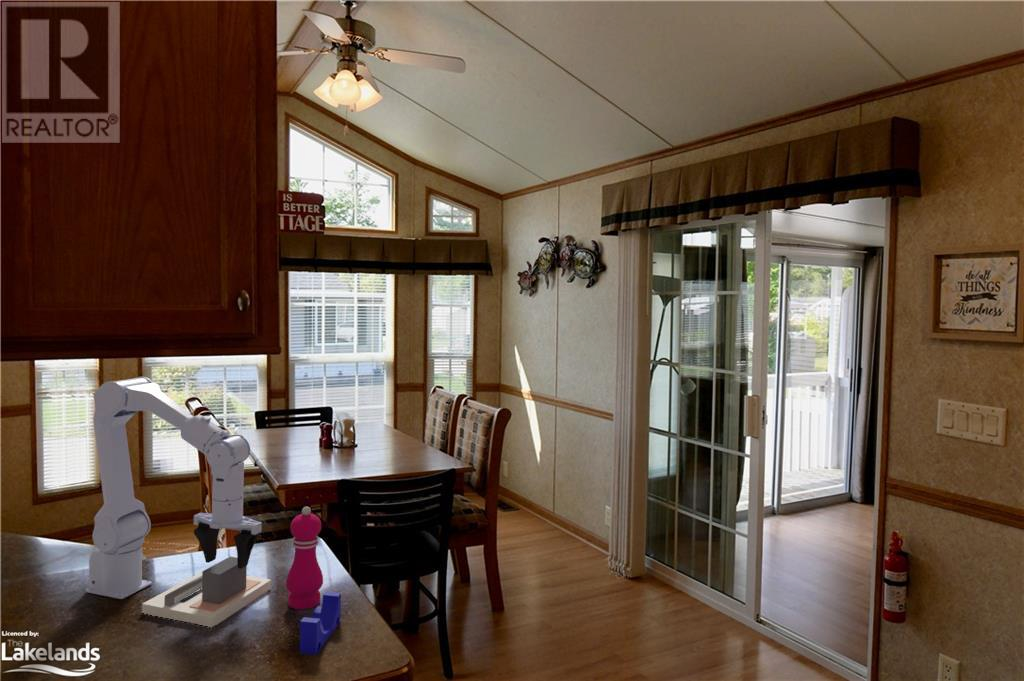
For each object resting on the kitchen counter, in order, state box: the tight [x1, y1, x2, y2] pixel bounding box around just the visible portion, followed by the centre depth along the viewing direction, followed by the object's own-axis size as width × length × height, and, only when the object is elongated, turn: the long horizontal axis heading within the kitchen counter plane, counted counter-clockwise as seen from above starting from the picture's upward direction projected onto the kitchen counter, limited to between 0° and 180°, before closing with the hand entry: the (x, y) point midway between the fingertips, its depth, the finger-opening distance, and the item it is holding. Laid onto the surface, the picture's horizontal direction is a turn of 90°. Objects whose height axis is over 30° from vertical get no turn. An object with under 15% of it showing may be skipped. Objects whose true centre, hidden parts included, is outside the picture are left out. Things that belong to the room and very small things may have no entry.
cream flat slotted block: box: [141, 571, 272, 629], centre depth 136 cm, size 16×18×4 cm
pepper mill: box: [285, 506, 324, 610], centre depth 136 cm, size 7×7×20 cm
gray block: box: [201, 556, 248, 605], centre depth 134 cm, size 4×8×6 cm, turn 164°
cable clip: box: [299, 591, 342, 656], centre depth 124 cm, size 12×4×6 cm, turn 174°
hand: (226, 563), depth 134 cm, fingers open, 7 cm apart
